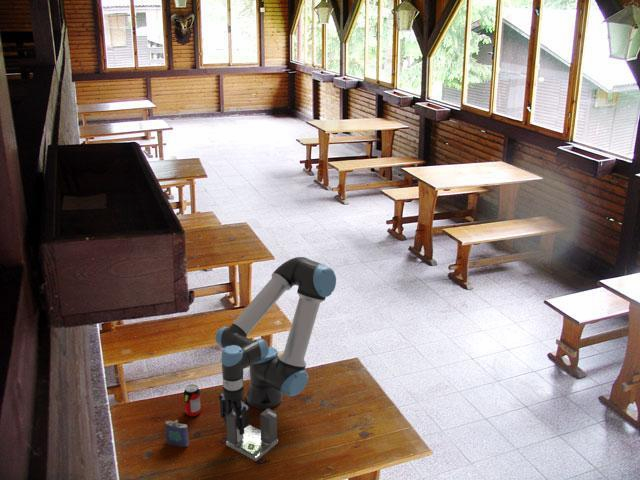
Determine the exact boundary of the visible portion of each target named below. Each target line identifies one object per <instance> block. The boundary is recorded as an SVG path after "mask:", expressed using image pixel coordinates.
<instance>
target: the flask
mask: <svg viewBox="0 0 640 480" xmlns="http://www.w3.org/2000/svg"><path fill="white" fill-rule="evenodd" d="M164 426H165V441H166V444H168V445H170V446H173V447H174V446H175V447H180V448H187V447H189V444H190V441H189V428H188V427H189V426H188V424H185V423H179V420H178V419H176V420H174V421H172V420H167V421H166V422H165V423H164Z"/></svg>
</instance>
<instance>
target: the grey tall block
mask: <svg viewBox="0 0 640 480" xmlns="http://www.w3.org/2000/svg"><path fill="white" fill-rule="evenodd" d="M259 414H260V418H259V419H260V421H259V422H260V430H261V440H262V441H263V442H265V443H267V444H269V445H270V444H271V443H272V442H274V441H275V440H276V439H278V412H276V411H275V410H272V409H271V408H268V409H264V411H262V412H261V413H259Z"/></svg>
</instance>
